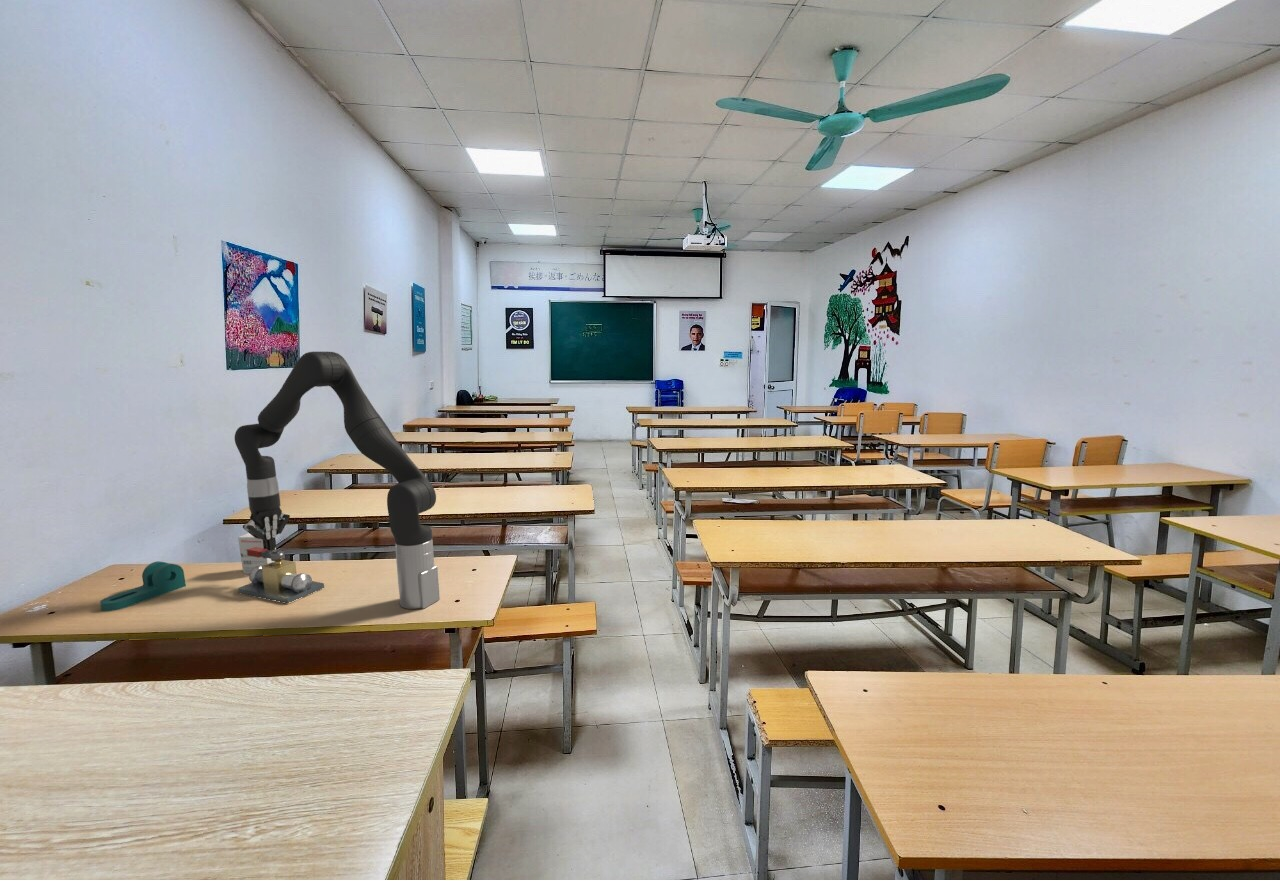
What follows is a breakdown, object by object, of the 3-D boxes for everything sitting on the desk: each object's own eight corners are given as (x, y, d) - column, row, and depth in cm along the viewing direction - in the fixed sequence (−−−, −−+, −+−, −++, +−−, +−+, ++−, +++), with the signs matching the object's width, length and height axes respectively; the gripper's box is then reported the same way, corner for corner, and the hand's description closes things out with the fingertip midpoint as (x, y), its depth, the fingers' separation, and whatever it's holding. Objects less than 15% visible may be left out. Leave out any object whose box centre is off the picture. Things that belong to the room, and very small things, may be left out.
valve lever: (257, 552, 167) (256, 546, 166) (287, 557, 162) (286, 551, 162) (246, 555, 164) (245, 549, 164) (276, 561, 159) (275, 555, 159)
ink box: (279, 568, 179) (275, 532, 178) (268, 574, 175) (263, 537, 173) (254, 567, 180) (249, 531, 178) (241, 573, 175) (237, 536, 174)
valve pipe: (324, 588, 164) (321, 557, 163) (288, 604, 154) (284, 571, 152) (275, 578, 171) (272, 549, 170) (238, 593, 161) (234, 562, 160)
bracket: (171, 583, 169) (167, 558, 168) (185, 586, 167) (182, 560, 165) (95, 609, 153) (90, 581, 151) (110, 613, 150) (105, 584, 149)
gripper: (248, 499, 158) (256, 559, 160) (294, 488, 170) (300, 544, 172) (231, 497, 161) (238, 556, 163) (277, 486, 173) (283, 541, 175)
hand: (270, 550), depth 168 cm, fingers closed
